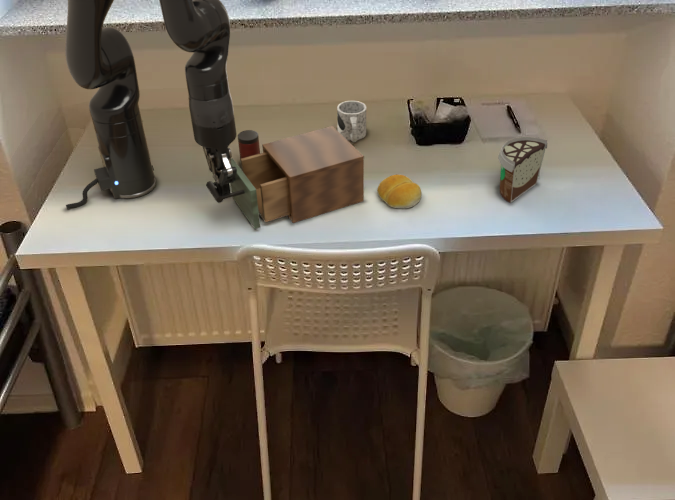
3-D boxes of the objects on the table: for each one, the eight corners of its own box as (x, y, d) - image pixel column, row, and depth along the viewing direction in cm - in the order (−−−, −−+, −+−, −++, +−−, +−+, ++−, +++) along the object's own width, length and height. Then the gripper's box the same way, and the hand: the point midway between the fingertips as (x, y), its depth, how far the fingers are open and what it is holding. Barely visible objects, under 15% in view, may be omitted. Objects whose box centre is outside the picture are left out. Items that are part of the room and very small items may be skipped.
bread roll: (397, 215, 139) (397, 198, 136) (371, 193, 145) (371, 177, 142) (430, 201, 142) (431, 185, 139) (404, 181, 148) (404, 164, 145)
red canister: (245, 172, 152) (241, 142, 147) (238, 162, 155) (234, 133, 150) (264, 167, 153) (261, 137, 149) (257, 157, 156) (253, 128, 152)
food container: (515, 170, 150) (522, 128, 144) (540, 181, 147) (548, 139, 141) (480, 194, 144) (486, 151, 137) (506, 206, 140) (513, 163, 134)
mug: (336, 127, 166) (336, 101, 162) (364, 125, 167) (364, 99, 162) (339, 148, 159) (339, 122, 154) (369, 147, 159) (369, 120, 155)
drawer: (226, 238, 133) (220, 199, 127) (205, 204, 141) (198, 167, 136) (322, 208, 139) (321, 170, 134) (297, 177, 148) (294, 141, 143)
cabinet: (293, 223, 137) (289, 177, 131) (266, 188, 147) (262, 144, 140) (363, 201, 143) (363, 156, 136) (333, 169, 152) (332, 125, 145)
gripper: (180, 104, 127) (194, 184, 138) (204, 137, 118) (217, 220, 129) (219, 95, 130) (230, 174, 141) (246, 126, 121) (255, 208, 131)
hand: (224, 196), depth 135 cm, fingers closed
